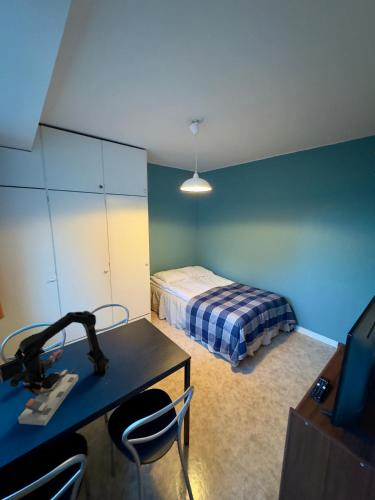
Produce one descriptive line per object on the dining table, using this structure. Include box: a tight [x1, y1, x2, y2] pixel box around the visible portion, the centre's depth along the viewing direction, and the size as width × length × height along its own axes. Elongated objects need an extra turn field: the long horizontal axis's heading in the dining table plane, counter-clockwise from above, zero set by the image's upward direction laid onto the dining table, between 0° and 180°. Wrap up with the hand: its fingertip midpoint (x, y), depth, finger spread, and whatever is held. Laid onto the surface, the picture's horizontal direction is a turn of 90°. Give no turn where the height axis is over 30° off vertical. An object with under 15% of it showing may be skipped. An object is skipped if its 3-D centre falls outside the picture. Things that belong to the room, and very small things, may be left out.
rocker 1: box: [24, 398, 47, 414], centre depth 89 cm, size 8×3×3 cm, turn 87°
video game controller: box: [47, 348, 64, 364], centre depth 122 cm, size 10×5×7 cm, turn 169°
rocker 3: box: [55, 369, 69, 381], centre depth 105 cm, size 8×3×3 cm, turn 86°
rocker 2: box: [39, 383, 57, 395], centre depth 97 cm, size 8×3×3 cm, turn 86°
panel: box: [17, 367, 79, 426], centre depth 101 cm, size 12×30×3 cm, turn 177°
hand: (38, 395), depth 89 cm, fingers closed
